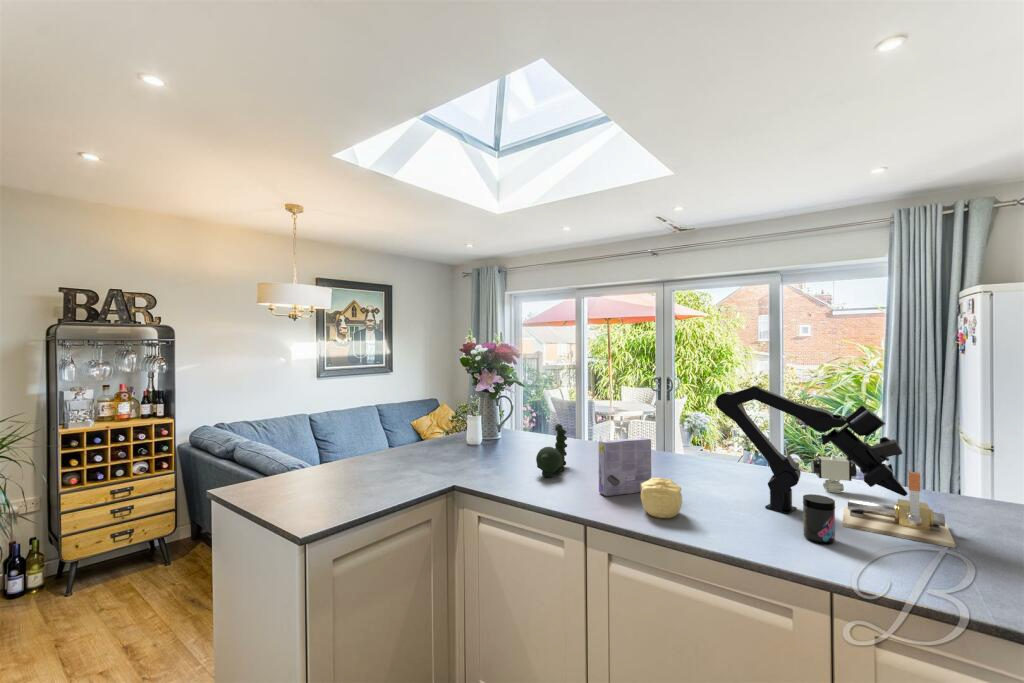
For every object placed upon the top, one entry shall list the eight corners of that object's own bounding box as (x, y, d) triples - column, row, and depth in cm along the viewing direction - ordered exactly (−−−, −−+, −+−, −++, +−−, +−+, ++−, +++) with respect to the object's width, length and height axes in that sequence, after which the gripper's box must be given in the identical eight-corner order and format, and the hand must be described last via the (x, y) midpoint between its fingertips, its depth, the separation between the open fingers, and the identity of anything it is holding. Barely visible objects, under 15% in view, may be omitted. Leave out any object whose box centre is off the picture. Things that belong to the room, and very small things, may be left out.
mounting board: (842, 526, 123) (842, 522, 123) (844, 509, 135) (844, 506, 135) (955, 548, 110) (955, 543, 110) (946, 527, 122) (946, 523, 122)
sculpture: (639, 519, 129) (639, 481, 129) (642, 505, 141) (642, 470, 141) (682, 524, 125) (682, 485, 125) (682, 509, 137) (681, 473, 137)
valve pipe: (847, 516, 128) (847, 496, 128) (848, 510, 132) (848, 491, 132) (945, 533, 115) (945, 511, 115) (942, 527, 119) (942, 505, 119)
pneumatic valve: (857, 496, 146) (856, 458, 146) (814, 491, 151) (813, 455, 151) (851, 490, 151) (851, 454, 151) (810, 486, 156) (810, 451, 156)
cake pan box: (646, 486, 158) (645, 435, 158) (655, 490, 154) (654, 438, 154) (597, 492, 152) (596, 440, 152) (605, 497, 148) (604, 443, 148)
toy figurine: (550, 468, 188) (529, 479, 165) (551, 422, 190) (530, 427, 167) (572, 470, 185) (554, 482, 162) (573, 423, 186) (555, 428, 163)
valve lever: (907, 525, 118) (907, 472, 118) (907, 522, 120) (906, 471, 120) (922, 527, 116) (921, 474, 116) (921, 525, 118) (920, 472, 118)
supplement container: (813, 545, 112) (812, 503, 112) (797, 534, 119) (797, 494, 119) (841, 546, 111) (841, 503, 111) (824, 534, 118) (824, 494, 118)
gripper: (879, 434, 115) (940, 486, 108) (877, 423, 130) (930, 468, 123) (841, 461, 120) (897, 512, 113) (844, 447, 134) (893, 492, 128)
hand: (906, 494), depth 119 cm, fingers closed
